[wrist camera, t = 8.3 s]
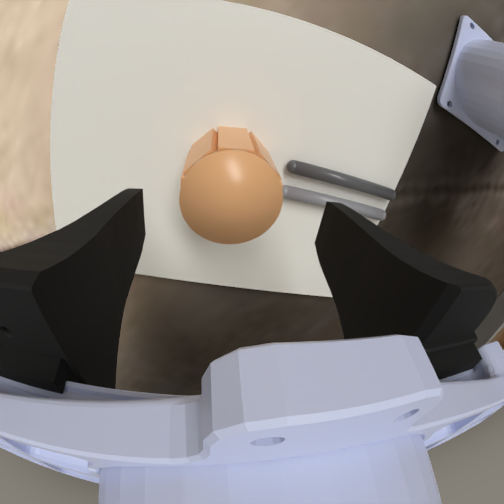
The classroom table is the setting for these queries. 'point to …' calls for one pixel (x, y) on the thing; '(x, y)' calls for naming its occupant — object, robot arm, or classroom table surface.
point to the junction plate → (228, 115)
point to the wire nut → (230, 187)
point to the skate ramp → (492, 325)
